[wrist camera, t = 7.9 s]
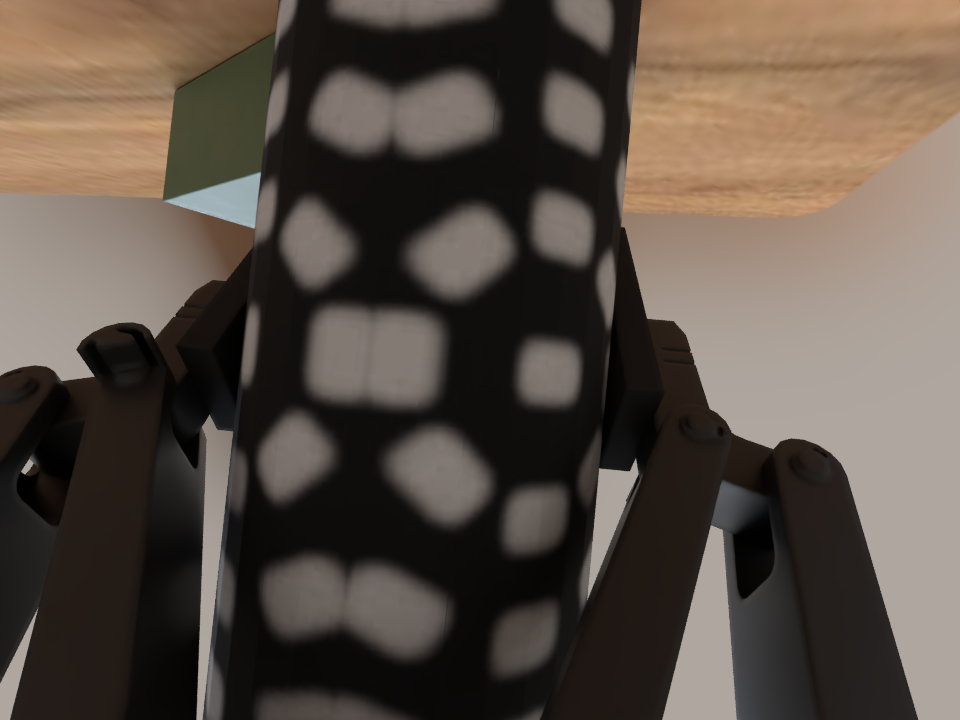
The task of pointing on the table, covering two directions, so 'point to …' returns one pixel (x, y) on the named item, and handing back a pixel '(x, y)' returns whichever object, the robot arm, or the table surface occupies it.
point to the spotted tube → (423, 359)
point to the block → (221, 137)
